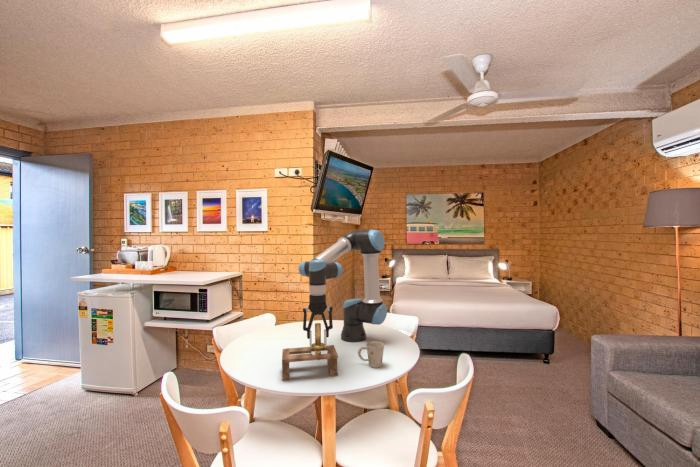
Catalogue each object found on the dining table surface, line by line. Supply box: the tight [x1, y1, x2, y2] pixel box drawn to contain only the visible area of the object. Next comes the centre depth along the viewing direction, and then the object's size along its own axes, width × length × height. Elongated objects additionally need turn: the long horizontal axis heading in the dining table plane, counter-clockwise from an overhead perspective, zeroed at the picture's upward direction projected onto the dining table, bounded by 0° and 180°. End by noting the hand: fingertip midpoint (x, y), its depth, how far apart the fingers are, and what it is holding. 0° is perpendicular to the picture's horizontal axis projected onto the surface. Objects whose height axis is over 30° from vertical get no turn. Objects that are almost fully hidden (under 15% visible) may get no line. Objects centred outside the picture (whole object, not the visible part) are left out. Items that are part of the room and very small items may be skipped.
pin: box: [311, 322, 325, 355], centre depth 147 cm, size 6×6×16 cm
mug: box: [357, 340, 385, 369], centre depth 154 cm, size 8×13×10 cm, turn 78°
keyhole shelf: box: [281, 344, 339, 381], centre depth 146 cm, size 24×14×9 cm, turn 101°
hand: (318, 344), depth 147 cm, fingers closed on pin, 6 cm apart
